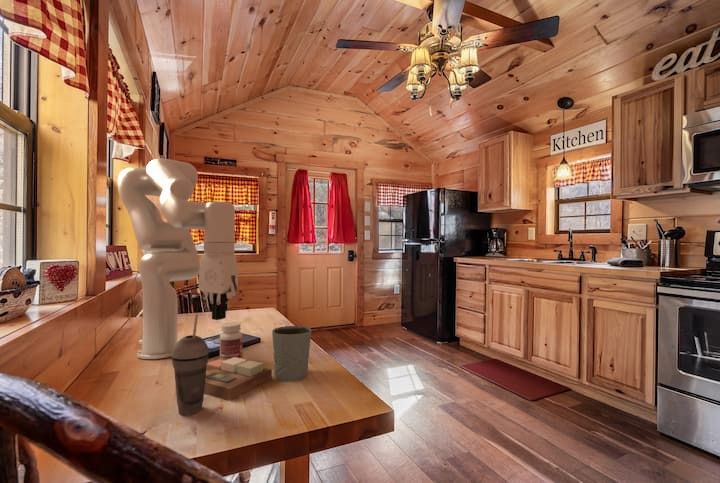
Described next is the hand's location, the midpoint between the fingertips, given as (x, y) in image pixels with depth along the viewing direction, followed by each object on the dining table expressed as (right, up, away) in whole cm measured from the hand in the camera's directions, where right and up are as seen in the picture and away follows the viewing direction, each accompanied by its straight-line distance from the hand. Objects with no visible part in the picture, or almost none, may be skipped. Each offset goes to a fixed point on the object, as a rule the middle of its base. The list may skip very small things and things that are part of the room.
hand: (218, 318), depth 98 cm
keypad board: (+3, -15, -5) cm, 16 cm away
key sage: (+10, -12, -5) cm, 16 cm away
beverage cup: (+2, -15, -20) cm, 25 cm away
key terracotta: (0, -14, 0) cm, 14 cm away
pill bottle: (0, -15, +9) cm, 17 cm away
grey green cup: (+19, -15, 0) cm, 24 cm away
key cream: (+5, -12, -2) cm, 13 cm away
